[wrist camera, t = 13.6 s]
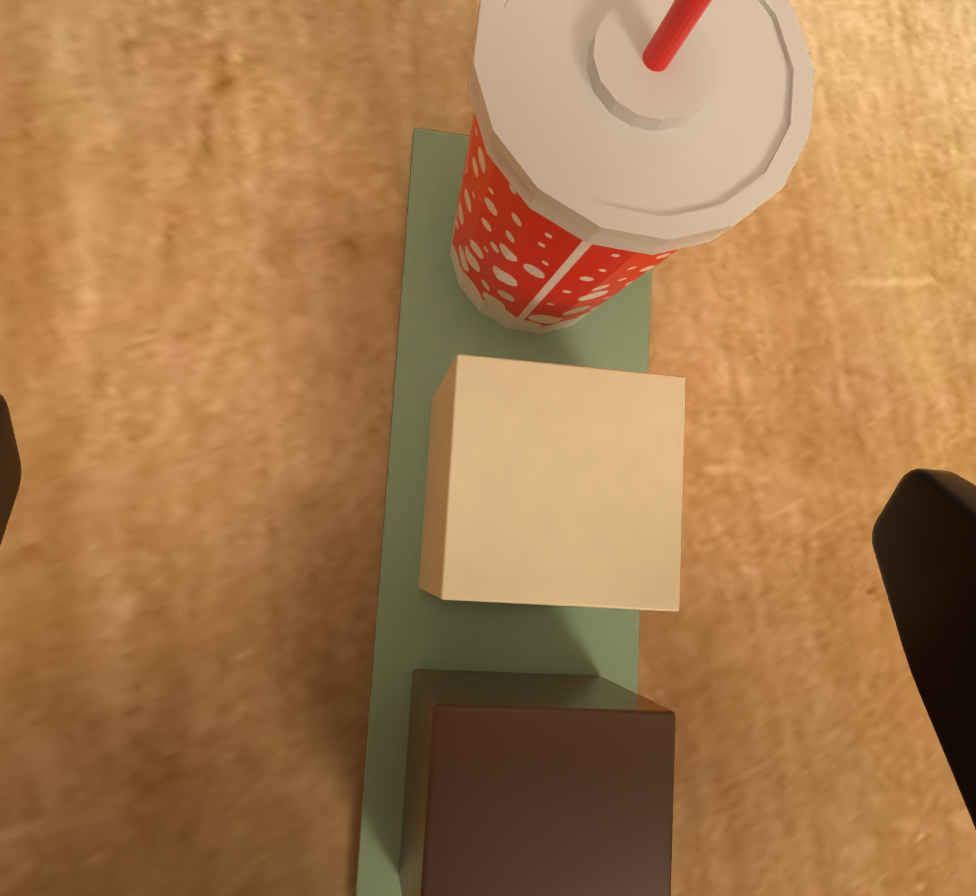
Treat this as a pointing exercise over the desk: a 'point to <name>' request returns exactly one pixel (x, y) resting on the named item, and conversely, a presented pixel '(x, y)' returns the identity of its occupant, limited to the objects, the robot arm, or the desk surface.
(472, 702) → the walnut block
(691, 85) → the beverage cup
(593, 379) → the cream block
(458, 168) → the line mat
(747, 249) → the desk surface
